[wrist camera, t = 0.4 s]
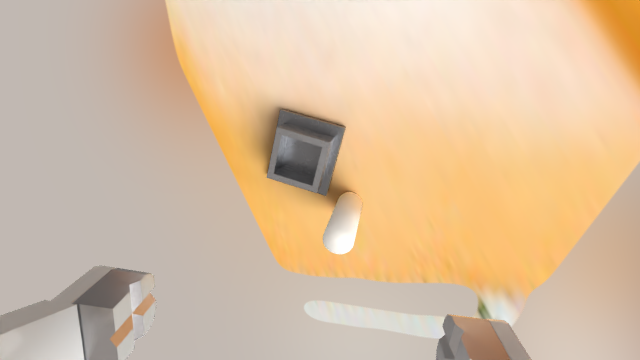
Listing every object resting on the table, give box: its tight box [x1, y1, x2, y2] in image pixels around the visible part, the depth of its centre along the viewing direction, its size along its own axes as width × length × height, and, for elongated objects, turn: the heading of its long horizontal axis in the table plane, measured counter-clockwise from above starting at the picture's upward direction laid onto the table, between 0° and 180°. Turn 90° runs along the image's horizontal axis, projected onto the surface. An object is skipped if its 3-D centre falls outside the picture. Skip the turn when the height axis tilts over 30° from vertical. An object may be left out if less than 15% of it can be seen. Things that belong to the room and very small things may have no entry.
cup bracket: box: [267, 109, 346, 196], centre depth 47 cm, size 10×9×4 cm
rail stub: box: [323, 192, 362, 254], centre depth 45 cm, size 4×4×11 cm
